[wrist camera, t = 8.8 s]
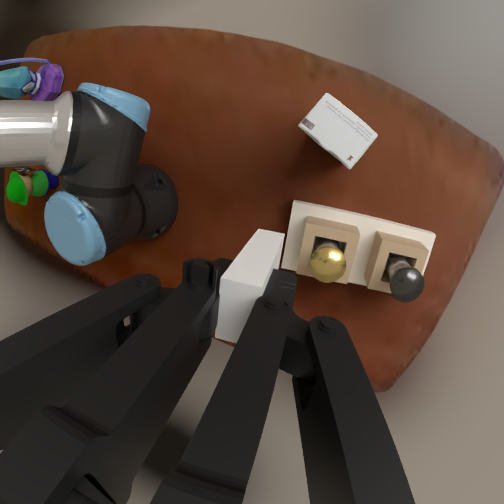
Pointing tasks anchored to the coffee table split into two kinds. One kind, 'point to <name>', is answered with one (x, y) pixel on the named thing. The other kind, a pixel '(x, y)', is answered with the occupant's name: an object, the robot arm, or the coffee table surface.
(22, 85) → the lantern
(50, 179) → the toy
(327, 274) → the plug brass
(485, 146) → the coffee table surface
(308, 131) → the skincare box
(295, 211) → the socket board
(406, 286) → the plug black
